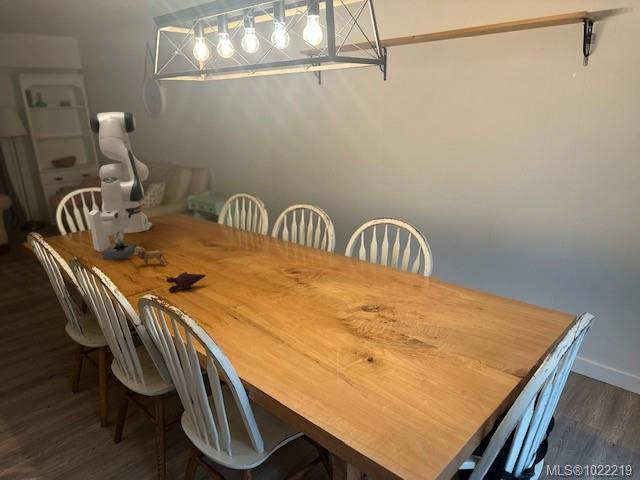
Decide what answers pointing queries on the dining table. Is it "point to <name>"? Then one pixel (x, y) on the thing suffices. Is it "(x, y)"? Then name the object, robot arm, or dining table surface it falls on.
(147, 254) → the lion figurine
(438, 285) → the dining table surface
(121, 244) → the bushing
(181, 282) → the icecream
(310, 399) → the dining table surface
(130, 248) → the jig
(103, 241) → the milk
